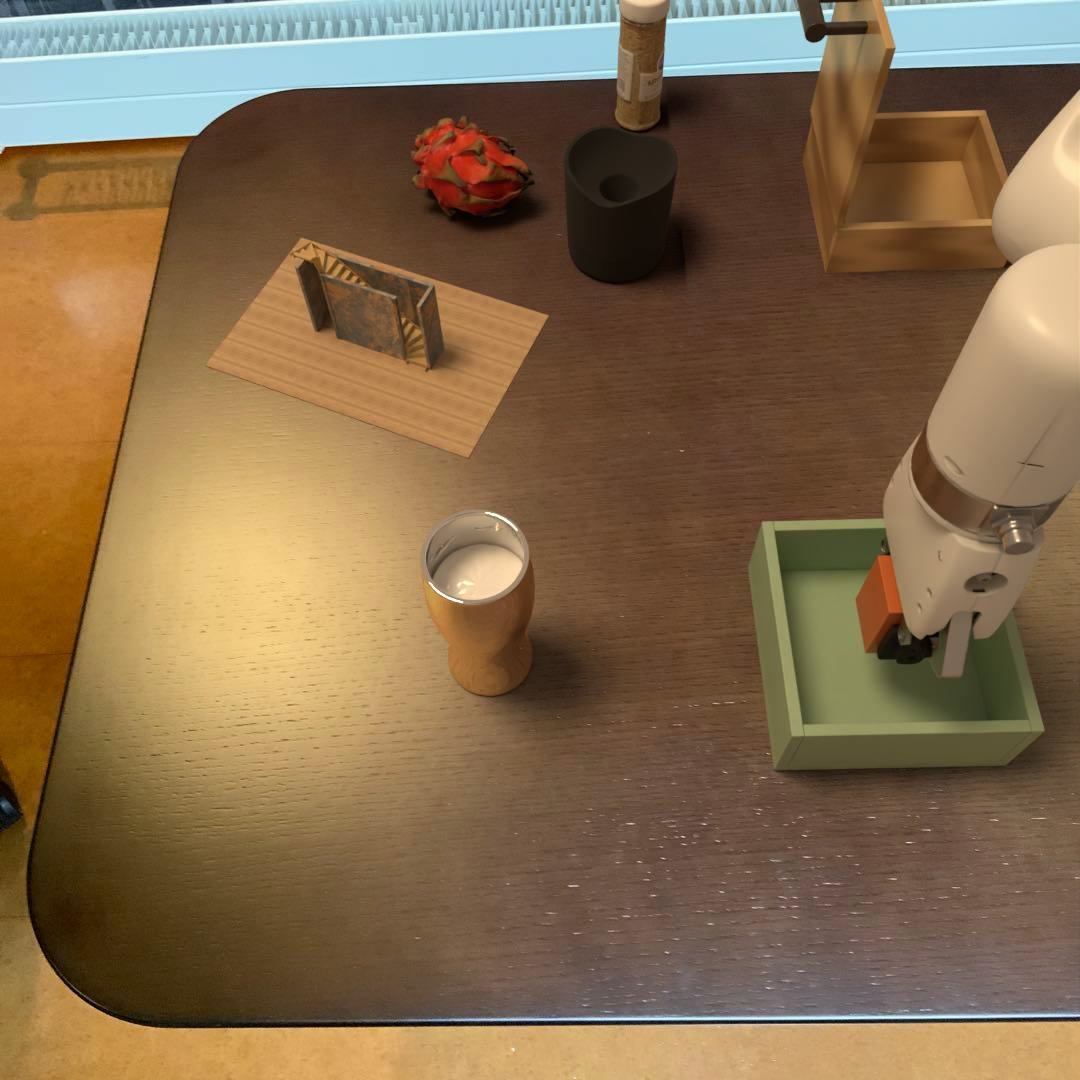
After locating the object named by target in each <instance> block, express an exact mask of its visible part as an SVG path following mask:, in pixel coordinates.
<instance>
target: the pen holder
mask: <svg viewBox="0 0 1080 1080" xmlns="http://www.w3.org/2000/svg"><path fill="white" fill-rule="evenodd" d="M678 165H679V158H678V154H677V151H676V149H675V147H674V146H673V144H672V143H671V142H670V140H668V139H667V138H665V137H663V136H661V135H657V134H650V133H649V134H648V133H638V132H635V131H631V130H628V129H625V128H620V127H617V126H613V125H597V126H593V127H591V128H588V129H585V130H583V131H582V132H581V133H579V134H578V135H577V136H575V137H574V138H573V139H572V141H571V142H570V143H568V146H567V148H566V149H565V153H564V156H563V173H564V174H563V175H564V193H565V195H564V196H565V214H566V215H565V216H566V231H567V242H568V243H567V245H568V252H569V255H570V258H571V259H572V261H573V263H574V264H575V265H576V267H577V268H578V269H580V270H581V271H582V272H583V273H585V274H586V275H588V276H589V277H592V278H594V279H596V280H600V281H602V282H607V283H608V282H609V283H624V282H625V283H626V282H630V281H634V280H637V279H640V278H642V277H644V276H645V275H647V274H648V273H650V272H651V271H653V270H654V269H655V268H656V267H657V265H659V263H660V261H661V260H662V257H663V255H664V251H665V245H666V240H667V235H668V229H669V223H670V218H671V217H670V216H671V210H672V205H673V199H674V192H675V185H676V179H677V172H678Z"/></svg>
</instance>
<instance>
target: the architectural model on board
mask: <svg viewBox="0 0 1080 1080" xmlns="http://www.w3.org/2000/svg"><path fill="white" fill-rule="evenodd" d="M549 316H550V315H549V314H547V313H546V314H545V313H542V312H539V311H537V310H533V309H529V308H526V307H523V306H520V305H517V304H514V303H510V302H508V301H505V300H501V299H497V298H495V297H491V296H488V295H484V294H483V293H479V292H475V291H472V290H469V289H466V288H462V287H460V286H456V285H454V284H450V283H447V282H444V281H440V280H437V279H434V278H431V277H428V276H424V275H422V274H419V273H415V272H412V271H409V270H405V269H403V268H399V267H396V266H392V265H391V264H390V265H389V264H386V263H383V262H380V261H377V260H374V259H371V258H368V257H364V256H361V255H357V254H355V253H351V252H349V251H345V250H342V249H338V248H335V247H332V246H329V245H326V244H322V243H320V242H316V241H313V240H310V239H307V238H303V237H300V239H299V240H298V241H297V242H296V244H295V245H294V246H293V248H292V249H291V250H290V252H289V253H288V254H287V256H286V257H285V258H284V260H283V261H282V262H281V264H280V265H279V266H278V268H277V269H276V270H275V272H274V273H273V274H272V276H271V277H270V279H269V280H268V281H267V282H266V283H265V285H264V287H263V288H262V289H261V290H260V292H259V293H258V294H257V296H256V297H255V299H254V300H253V301H252V302H251V303H250V305H249V306H248V307H247V309H246V310H245V311H244V313H243V314H242V315H241V317H240V318H239V320H238V321H237V322H236V323H235V325H234V326H233V328H231V330H230V331H229V333H228V334H227V335H226V337H225V338H224V339H223V341H222V342H221V344H220V345H219V346H218V347H217V348H216V350H215V351H214V353H213V354H212V355H211V357H210V358H209V359H208V360H207V362H206V363H205V365H204V366H206V367H208V368H210V369H211V368H212V369H214V370H217V371H220V372H222V373H226V374H228V375H232V376H234V377H237V378H240V379H242V380H245V381H247V382H251V383H254V384H257V385H260V386H262V387H265V388H268V389H271V390H273V391H276V392H278V393H279V392H280V393H282V394H285V395H288V396H291V397H293V398H297V399H299V400H302V401H304V402H307V403H310V404H314V405H316V406H319V407H320V408H323V409H327V410H330V411H333V412H336V413H338V414H342V415H344V416H346V417H350V418H352V419H355V420H358V421H362V422H364V423H367V424H370V425H373V426H376V427H379V428H380V429H384V430H387V431H390V432H392V433H395V434H398V435H400V436H403V437H407V438H410V439H412V440H415V441H418V442H421V443H424V444H427V445H429V446H431V447H435V448H438V449H441V450H443V451H446V452H449V453H452V454H455V455H458V456H460V457H463V458H466V459H469V458H470V456H471V454H472V453H473V451H474V449H475V447H476V445H477V444H478V442H479V440H480V439H481V436H482V435H483V433H484V432H485V429H486V428H487V426H488V424H489V423H490V421H491V419H492V418H493V415H494V414H495V412H496V410H497V409H498V407H499V405H500V403H501V401H502V399H503V398H504V396H505V394H506V393H507V391H508V389H509V387H510V385H511V383H512V382H513V380H514V379H515V377H516V376H517V373H518V371H519V370H520V368H521V366H522V364H523V362H524V361H525V359H526V357H527V356H528V354H529V352H530V351H531V348H532V347H533V345H534V343H535V342H536V340H537V338H538V336H539V334H540V333H541V331H542V329H543V328H544V325H545V323H546V322H547V320H548V318H549Z"/></svg>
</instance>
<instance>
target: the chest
mask: <svg viewBox="0 0 1080 1080" xmlns="http://www.w3.org/2000/svg"><path fill="white" fill-rule="evenodd" d="M802 164H803V169H804V174H805V179H806V183H807V189H808V193H809V198H810V203H811V208H812V213H813V217H814V223H815V228H816V232H817V236H818V242H819V248H820V252H821V257H822V261H823V262H822V263H823V267H824V271H825V273H826V274H836V273H837V274H841V273H873V272H908V271H909V272H910V271H912V272H913V271H940V270H941V271H942V270H943V271H944V270H946V271H949V270H981V269H984V270H985V269H1004V267H1005V266H1006V263H1007V261H1008V260H1007V259H1006V257H1005V256H1004V255H1003V254H1002V253H1001V251H1000V250H999V248H998V247H997V245H996V242H995V240H994V236H993V233H992V225H991V224H992V215H993V210H994V206H995V203H996V200H997V198H998V196H999V194H1000V191H1001V189H1002V187H1003V185H1004V183H1005V182H1006V180H1007V178H1008V177H1009V174H1008V172H1007V169H1006V166H1005V163H1004V160H1003V156H1002V154H1001V152H1000V149H999V146H998V142H997V140H996V136H995V134H994V131H993V128H992V126H991V122H990V120H989V117H988V113H987V111H986V109H972V110H942V111H941V110H940V111H939V110H938V111H935V110H934V111H909V112H908V111H907V112H906V111H904V112H877V113H876V117H875V120H874V123H873V127H872V130H871V133H870V137H869V140H868V144H867V147H866V150H865V154H864V157H863V160H862V164H861V167H860V171H859V174H858V177H857V181H856V184H855V187H854V191H853V194H852V198H851V201H850V204H849V208H848V211H847V214H846V218H845V221H844V225H843V226H835V222H834V218H833V213H832V208H831V204H830V199H829V195H828V190H827V185H826V181H825V176H824V172H823V167H822V162H821V158H820V153H819V149H818V144H817V139H816V135H815V130H814V126H813V121H812V120H811V122H810V127H809V131H808V135H807V139H806V145H805V148H804V152H803V156H802Z"/></svg>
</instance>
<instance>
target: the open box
mask: <svg viewBox="0 0 1080 1080" xmlns="http://www.w3.org/2000/svg"><path fill="white" fill-rule="evenodd" d="M885 534H886V528H885V523H884V518H849V519H848V518H847V519H807V520H774V521H773V520H768V521H767V520H766V521H765V520H764V521H761V524H760V527H759V530H758V533H757V537H756V540H755V544H754V547H753V550H752V552H751V557H750V560H749V562H748V565H747V573H748V574H747V575H748V581H749V589H750V590H749V591H750V597H751V598H750V599H751V604H752V613H753V619H754V620H753V621H754V628H755V636H756V643H757V651H758V659H759V660H758V661H759V667H760V675H761V684H762V691H763V699H764V706H765V714H766V715H765V716H766V720H767V722H766V723H767V730H768V737H769V744H770V745H769V746H770V751H771V752H770V754H771V759H772V760H771V761H772V769H773V771H812V770H814V771H815V770H856V769H857V770H859V769H862V770H863V769H907V768H908V769H909V768H911V769H912V768H914V769H915V768H957V767H959V768H960V767H961V768H963V767H1003V766H1004V767H1005V766H1007V765H1008V764H1009V763H1010V762H1011V761H1012V760H1014V759H1015V758H1016V757H1017V756H1019V754H1020V753H1022V752H1023V751H1024V750H1025V749H1026V748H1027V747H1029V746H1030V745H1031V744H1032V743H1033V742H1034V741H1036V740H1037V739H1038V738H1039V737H1040V736H1041V735H1043V734H1044V733H1045V731H1046V729H1045V726H1044V722H1043V719H1042V715H1041V711H1040V707H1039V703H1038V700H1037V697H1036V693H1035V689H1034V684H1033V681H1032V677H1031V674H1030V670H1029V666H1028V663H1027V659H1026V655H1025V651H1024V647H1023V644H1022V640H1021V635H1020V633H1019V629H1018V624H1017V621H1016V618H1015V614H1014V609H1013V608H1012V609H1011V611H1010V612H1009V614H1008V615H1007V617H1006V618H1005V619H1004V621H1003V622H1002V623H1001V625H1000V626H999V627H998V629H997V630H996V631H995V632H994V633H993V634H992V635H991V636H990V637H989V638H982V639H974V636H973V632H972V628H971V631H970V636H969V642H968V647H967V653H966V658H965V664H964V670H963V675H962V677H961V678H938V677H937V675H936V674H935V672H934V671H933V669H932V667H931V666H930V664H929V658H924V659H923V660H922V661H921V662H919V663H916V664H898V663H897V662H896V660H880V659H878V656H877V653H865V649H864V643H863V638H862V633H861V627H860V622H859V616H858V611H857V606H856V600H855V599H856V597H857V595H858V593H859V591H860V589H861V587H862V585H863V584H864V582H865V580H866V578H867V576H868V574H869V572H870V570H871V568H872V566H873V564H874V562H875V560H876V558H877V556H880V555H881V551H880V543H881V539H882V538H883V537H884V536H885Z"/></svg>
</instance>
